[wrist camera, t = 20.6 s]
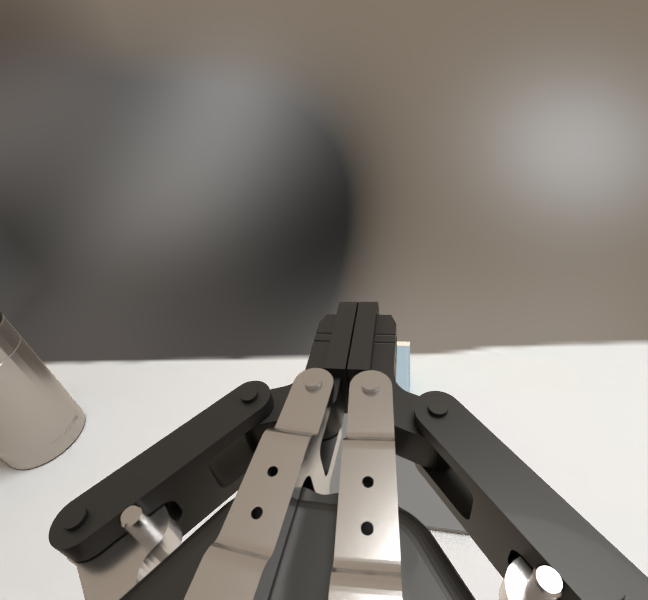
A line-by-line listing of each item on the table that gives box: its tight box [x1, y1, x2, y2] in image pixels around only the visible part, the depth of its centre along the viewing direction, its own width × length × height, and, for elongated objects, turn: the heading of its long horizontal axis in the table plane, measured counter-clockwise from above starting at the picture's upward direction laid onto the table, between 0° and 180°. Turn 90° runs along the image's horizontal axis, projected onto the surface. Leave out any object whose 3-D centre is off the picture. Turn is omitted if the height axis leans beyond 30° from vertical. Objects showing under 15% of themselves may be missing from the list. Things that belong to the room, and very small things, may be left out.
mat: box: [330, 413, 469, 535], centre depth 39 cm, size 14×12×1 cm
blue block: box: [396, 342, 410, 393], centre depth 44 cm, size 4×4×12 cm
